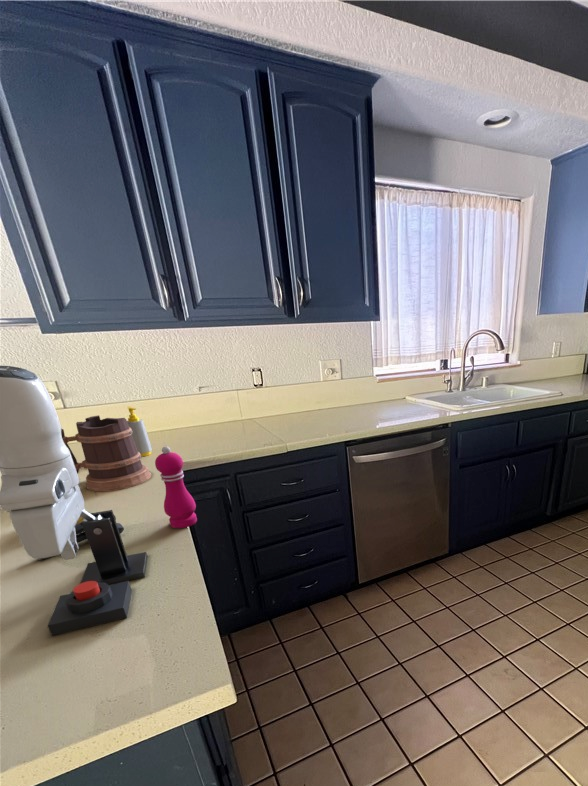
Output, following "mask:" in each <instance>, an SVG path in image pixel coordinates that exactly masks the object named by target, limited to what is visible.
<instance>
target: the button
mask: <svg viewBox="0 0 588 786" xmlns="http://www.w3.org/2000/svg"><path fill="white" fill-rule="evenodd" d="M80 583H81V582H80ZM80 583H79V584H77V585H75V586H74V587H73V590H72V591H73V592H74V594H75V597H76V599H77V600H78V601H83V600H87V599H91V598H93V597H95V596H97V595H98V594H99V593H100V589H99V586H98V583H97V582H96V581H87V582H84V583H81V584H80Z"/></svg>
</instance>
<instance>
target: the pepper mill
mask: <svg viewBox="0 0 588 786" xmlns="http://www.w3.org/2000/svg"><path fill="white" fill-rule="evenodd" d="M161 452H162V453H160V454H158V455H157V457H156V458H155V461H154V466H155V469H156V470H157V471H158V472H159V473H160V480H161V481H162V482H163V483H164V485H165V496H164V501H163V510H164V513H165V515H167V516H168V517H169V519H168V521H169V525H170V527H172V528H174V529H186V528H188V527H191V526H193V525H195V524H196V523H197V522H198V518H197V514H196V513H195V511H196V508H197V504H196V500H195V499H194V498H193V496H192V495H191V494H190V492H189V490H187V488H186V486H185V483H184V477H185V474H184V470H182V469H183V467H184V460H183V458H182V457H181V455H180V454H178V453H176V452H173V451H171V448H170V447H169V446H166V445H165V446H163V447H162V448H161Z"/></svg>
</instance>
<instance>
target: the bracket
mask: <svg viewBox="0 0 588 786" xmlns="http://www.w3.org/2000/svg"><path fill="white" fill-rule="evenodd" d="M89 513H90V514H91V515H93V516H94V517H97V516H98V515H99V514H100V515H101V516H103V517H104V518H105V519H99V520H93V521H87V522H83V523H82V526H83V529H84V531H85V534H86V537H87V539H86V541H87V542H88V545H89V548H90V551H91V553H92V556H93V560H94V561H92V562H88V563H87V564H86V567H85V570H84V573H83V575H82V578H81V581H80V583H79V584H81V583H84V582H87V581H96V582H97V583H106V584H107V585H112V584H117V583H121V582H126V581H129V582H130V581H133V580H139V579H143V578H146V572H147V564H148V556H149V555H148V553H147V551H143V552H142V551H141V552H138V553H137V552H136V553H133V554H132V553H131V554H127V551H126V548H125V544H124V542H123V539H122V536H121V533H119V529H118V526H117V523H118V522H117V519H116V520H115V517H116V516H115V517H114V515H115V514H114V511H113V509H108V510H102V511H97V512H89ZM111 523H112V524H111Z"/></svg>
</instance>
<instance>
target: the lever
mask: <svg viewBox="0 0 588 786" xmlns="http://www.w3.org/2000/svg"><path fill="white" fill-rule="evenodd" d="M90 513H91V512H89V511H87V510H86V509H85V510H84V509H83V511H82V513H81V515H80V516H81V517H82V518H84V519H85V520H87V521H93V520H99V519H105V518H104V517H103V516H101V515H100V514H99V515H98V516H97V517H94V516H93V515H91V514H90ZM111 524H112V523H111Z"/></svg>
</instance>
